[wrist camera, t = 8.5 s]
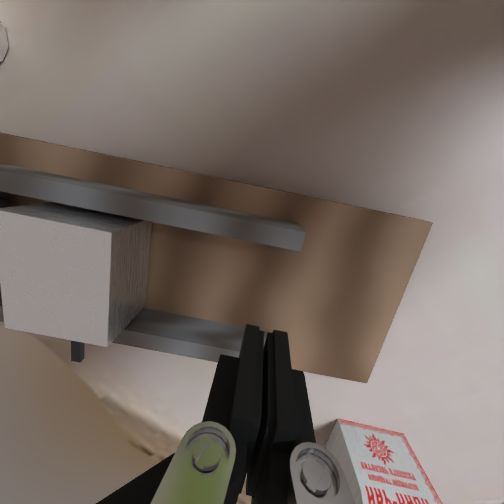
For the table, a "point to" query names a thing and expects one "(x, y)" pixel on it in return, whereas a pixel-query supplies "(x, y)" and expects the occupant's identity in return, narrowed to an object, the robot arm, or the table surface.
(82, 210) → the slider
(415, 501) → the tea bag
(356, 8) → the table surface
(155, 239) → the gauge bench
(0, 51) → the milkshake
